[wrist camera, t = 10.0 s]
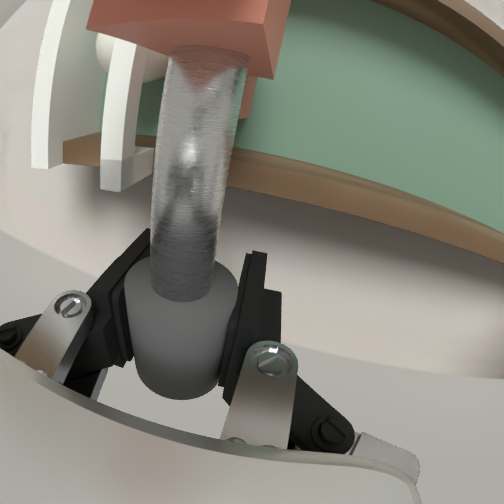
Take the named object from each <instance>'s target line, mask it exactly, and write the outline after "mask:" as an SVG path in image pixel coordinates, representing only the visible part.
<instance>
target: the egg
mask: <svg viewBox="0 0 504 504" xmlns="http://www.w3.org/2000/svg"><path fill="white" fill-rule="evenodd" d="M114 42H115V37H112V36H109V35H105V34H102V33H98V35H97V39H96V55H97V58H98V61H99V63H100V65H101V67H102V68H103V69H104V70H105V71H106V72H107V73H108V74H109V68H110V62H111V57H112V52H113V47H114ZM168 60H169V56H166V55H164V54H161V53H159V52H156V51H153V50H151V49H148V54H147V59H146V65H145V70H144V76H143V82H142V83H146V82H151V81H154V80H157V79H160V78H162V77H164V76H166V71H167V65H168Z"/></svg>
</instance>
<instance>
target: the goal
mask: <svg viewBox="0 0 504 504" xmlns="http://www.w3.org/2000/svg"><path fill="white" fill-rule="evenodd" d="M93 1H94V0H53V3H52V7H51V10H50V13H49V17H48V20H47V24H46V28H45V32H44V36H43V40H42V45H41V50H40V55H39V60H38V66H37V73H36V80H35V88H34V98H33V110H32V132H31V157H32V168H42V169H50V168H52V167H55V166H57V165H60V164H62V163H63V141H67V140H70V139H74V138H78V137H81V136H85V135H89V134H93V133H98V132H99V127H100V115H101V105H102V97H103V89H104V82H105V75H106V71H105V70H104V69H103V68H102V67H101V65H100V63H99V61H98V58H97V55H96V39H97V35H98V32H94V31H90V30H86V26H87V22H88V18H89V15H90V11H91V8H92V5H93ZM147 54H148V48H145V47H142V46H140V45H137V44H134V43H131V42H128V41H125V40H122V39H118V38H115V42H114V47H113V52H112V57H111V62H110V68H109V74H108V81H107V87H106V95H105V103H104V113H103V123H102V137H101V158H100V189H102V190H109V191H115V192H122V191H124V190H125V189H127V188H129V187H130V186H132V185H133V184H135V183H137V182H138V181H140V180H142V179H143V178H145V177H147V176H149V175H150V174H152V165H153V153H154V148H149V147H139V146H135V137H136V127H137V118H138V109H139V102H140V95H141V88H142V82H143V76H144V70H145V65H146V59H147Z"/></svg>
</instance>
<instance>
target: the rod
mask: <svg viewBox="0 0 504 504" xmlns="http://www.w3.org/2000/svg"><path fill="white" fill-rule="evenodd" d="M290 4H291V0H94V1H93V5H92V8H91V11H90V15H89V18H88V22H87V26H86V30H90V31H94V32H98V33H102V34H105V35H109V36H112V37H115V38H118V39H122V40H125V41H128V42H131V43H134V44H137V45H140V46H142V47H145V48H148V49H151V50H153V51H156V52H159V53H161V54H164V55H166V56H169V60H168V65H167V71H166V76H165V82H164V88H163V94H162V100H161V107H160V114H159V122H158V130H157V139H156V148H155V159H154V170H153V184H152V202H151V232H150V256H149V257H146V258H144V259H142V260H140V261H139V262H137V263H136V264H135V265H133V266H132V268H131V269H130V270H129V271H128V273H127V275H126V277H125V281H124V289H125V298H126V307H127V315H128V322H129V329H130V335H131V341H132V347H133V353H134V358H135V364H136V368H137V372H138V375H139V377H140V379H141V380H142V382H143V383H144V384H145V385H146V386H147V387H148V388H149V389H150V390H152V391H153V392H155V393H156V394H159V395H161V396H163V397H166V398H170V399H176V400H188V399H193V398H197V397H200V396H202V395H204V394H206V393H208V392H209V391H211V390H212V389H213V388H214V387H215V386H216V385H217V383H218V382H219V377H220V372H221V366H222V361H223V356H224V351H225V345H226V340H227V335H228V330H229V325H230V320H231V316H232V312H233V309H234V307H235V304H236V300H237V295H238V285H237V282H236V280H235V278H234V276H233V275H232V273H231V272H230V271H229V270H228V269H227V268H226V267H224V266H223V265H221V264H220V263H218V262H216V261H215V256H216V249H217V242H218V235H219V228H220V222H221V215H222V209H223V202H224V196H225V190H226V184H227V178H228V172H229V166H230V160H231V154H232V149H233V143H234V138H235V132H236V127H237V121H238V119H243V118H248V117H250V112H251V107H252V102H253V97H254V92H255V88H256V83H257V78H258V77H260V78H266V79H271V80H274V77H275V72H276V67H277V63H278V58H279V53H280V49H281V44H282V40H283V35H284V30H285V26H286V21H287V17H288V12H289V8H290Z"/></svg>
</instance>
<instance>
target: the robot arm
mask: <svg viewBox="0 0 504 504" xmlns="http://www.w3.org/2000/svg"><path fill="white" fill-rule="evenodd" d="M150 232H151V229H148V228H147V229H146V230H145V231H144V232H143V233H142V234H141V235H140V236H139V237H138V238H137V239H136V240H135V241H134V242H133V243H132V244H131V245H130V246H129V247H128V248H127V249H126V250H125V251H124V253H123V254H122V255H121V256H119V257H118V258H117V259H116V260H115V261H114V262H113V263H112V264H111V265H110V266H109V267H108V269H107V270H106V271H105V272H104V273H103V274H102V275H101V276H100V278H99V279H98V280H97V281H96V282H95V283H94V284H93V286H92V287H91V288H90V289H89V290H88V291H87V293H84V292H81V291H76V290H72V291H66V292H63V293H61V294H59V295H57V296H56V297H55V298H54V299H53V300H52V301H51V303H50V304H49V306H48V307H47V308H46V310H45V311H44V313H43V314H39V315H35V316H31V317H27V318H23V319H19V320H15V321H11V322H8V323H5V324H3V325H1V326H0V504H422V502H421V498H420V495H419V492H418V490H417V487H416V483H417V480H418V477H419V473H420V464H419V460H418V459H417V457H416V456H415V455H414V454H412V453H410V452H409V451H407V450H404V449H402V448H399V447H397V446H394V445H392V444H389V443H387V442H384V441H382V440H380V439H378V438H375V437H373V436H371V435H369V434H366V433H365V432H362V433H361V434H359V433H357V432H355V431H354V429H353V427H352V425H351V424H350V423H349V421H348V420H347V419H346V418H345V417H344V416H342V415H341V414H340V413H339V412H338V411H337V410H335V409H334V408H333V407H332V406H331V405H330V404H328V403H327V402H326V401H325V400H324V399H323V398H322V397H321V396H320V395H319V394H317V393H316V392H315V391H314V390H313V389H312V388H311V387H309V385H307V384H306V383H305V382H304V381H303V380H302V379H301V378H300V377H299V376H298V375H297V372H298V360H297V358H296V356H295V354H294V353H293V352H292V350H291V349H290V348H288V347H286V346H285V345H283V344H281V302H282V294H281V292H279V291H274V290H269V289H264V281H265V272H266V262H267V253H263V252H258V251H253V252H252V254H248V253H246V256H245V260H244V264H243V269H242V273H241V277H240V282H239V286H238V295H237V300H236V304H235V307H234V309H233V312H232V316H231V320H230V325H229V330H228V335H227V340H226V345H225V351H224V356H223V361H222V366H221V372H220V377H219V382H218V386H221V387H224V391H223V397H222V398H223V399H224V400H225V401H226V402H227V404H228V405H229V406H230V408H229V412H228V415H227V418H226V421H225V424H224V427H223V431H222V434H221V437H220V439H214V438H210V437H205V436H201V435H197V434H192V433H189V432H184V431H181V430H177V429H174V428H170V427H166V426H163V425H160V424H157V423H154V422H151V421H147V420H144V419H141V418H138V417H135V416H133V415H130V414H127V413H124V412H122V411H119V410H117V409H114V408H112V407H109V406H107V405H104V404H102V403H99V402H97V398H98V396H99V393H100V390H101V388H102V385H103V382H104V380H105V377H106V374H107V371H108V367H111V366H113V365H117V366H119V367H122V368H123V367H124V365H125V363H126V361H131V360H132V358H133V356H134V353H133V347H132V341H131V335H130V329H129V322H128V315H127V307H126V298H125V289H124V281H125V277H126V275H127V273H128V271H129V270H130V269H131V268H132V266H133V265H135V264H136V263H137V262H139V261H140V260H142V259H144V258H146V257H149V256H150Z"/></svg>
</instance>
